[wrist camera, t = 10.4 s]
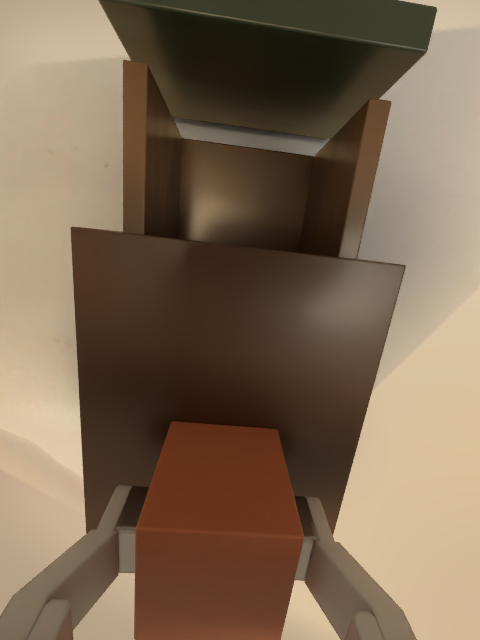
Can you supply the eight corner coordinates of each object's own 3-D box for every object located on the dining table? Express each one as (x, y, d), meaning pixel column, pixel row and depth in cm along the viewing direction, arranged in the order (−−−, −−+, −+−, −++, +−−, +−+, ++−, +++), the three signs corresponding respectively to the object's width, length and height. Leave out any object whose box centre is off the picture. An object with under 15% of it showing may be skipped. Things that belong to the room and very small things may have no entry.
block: (171, 420, 11) (134, 529, 7) (277, 428, 11) (305, 538, 7) (167, 504, 12) (133, 642, 8) (263, 509, 13) (280, 645, 8)
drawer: (164, -17, 14) (88, -315, 7) (359, 16, 15) (494, -221, 7) (154, 306, 19) (103, 349, 11) (304, 321, 19) (350, 372, 12)
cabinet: (151, 234, 18) (69, 226, 9) (321, 254, 19) (406, 265, 10) (147, 411, 22) (85, 535, 13) (289, 422, 23) (330, 547, 13)
